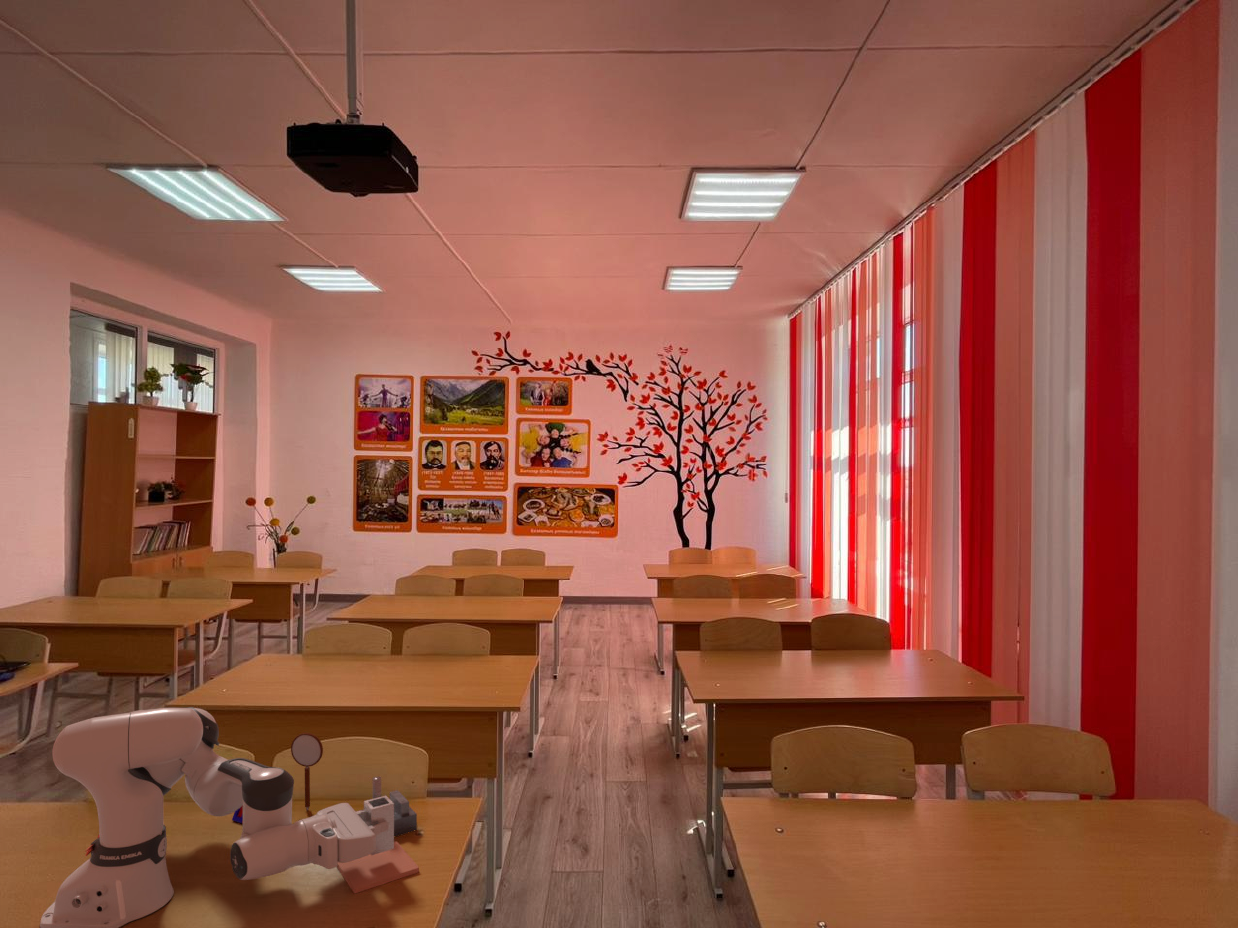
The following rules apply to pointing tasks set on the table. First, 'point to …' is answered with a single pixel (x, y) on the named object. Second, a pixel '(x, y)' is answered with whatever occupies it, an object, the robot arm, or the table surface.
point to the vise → (398, 810)
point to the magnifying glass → (307, 757)
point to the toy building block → (238, 815)
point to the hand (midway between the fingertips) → (382, 819)
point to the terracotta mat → (377, 869)
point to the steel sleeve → (378, 812)
